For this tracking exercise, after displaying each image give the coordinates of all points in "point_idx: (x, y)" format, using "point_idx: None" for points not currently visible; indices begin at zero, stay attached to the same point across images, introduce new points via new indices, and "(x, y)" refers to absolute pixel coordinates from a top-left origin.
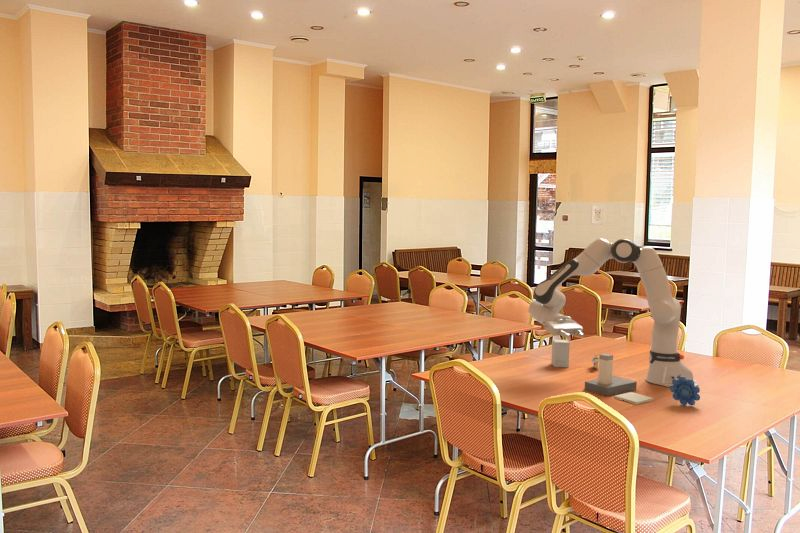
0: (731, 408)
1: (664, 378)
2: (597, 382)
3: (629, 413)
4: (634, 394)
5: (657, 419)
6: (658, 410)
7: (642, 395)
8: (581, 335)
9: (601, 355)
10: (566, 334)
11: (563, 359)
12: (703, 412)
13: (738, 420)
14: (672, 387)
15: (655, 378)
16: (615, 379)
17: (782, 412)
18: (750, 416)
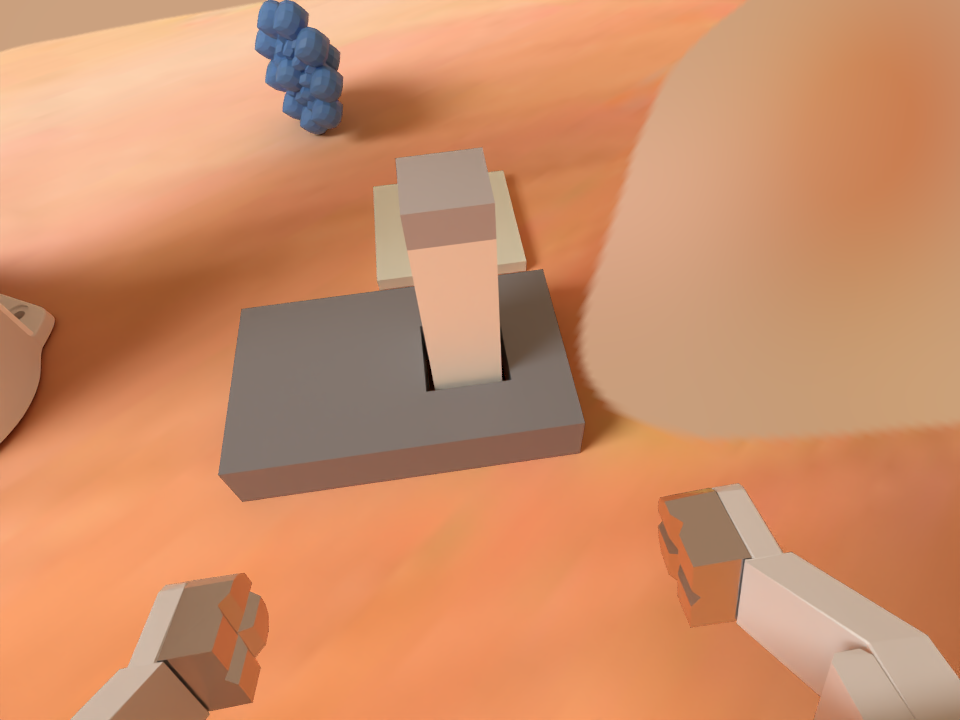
0: (201, 79)
1: (6, 309)
2: (500, 382)
3: (626, 125)
4: (403, 245)
5: (570, 72)
6: (478, 121)
7: (380, 224)
8: (245, 589)
9: (491, 193)
10: (761, 527)
11: None
12: None
13: (321, 23)
14: (337, 72)
15: (6, 362)
16: (316, 389)
17: (111, 32)
18: (244, 33)
